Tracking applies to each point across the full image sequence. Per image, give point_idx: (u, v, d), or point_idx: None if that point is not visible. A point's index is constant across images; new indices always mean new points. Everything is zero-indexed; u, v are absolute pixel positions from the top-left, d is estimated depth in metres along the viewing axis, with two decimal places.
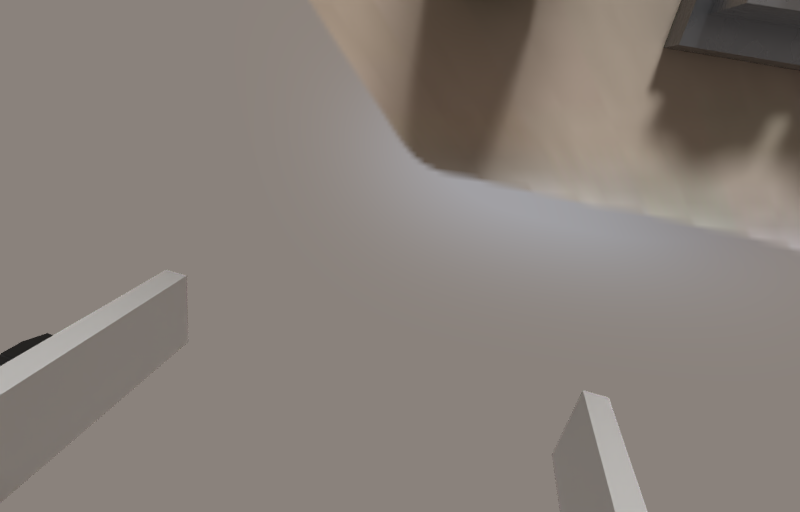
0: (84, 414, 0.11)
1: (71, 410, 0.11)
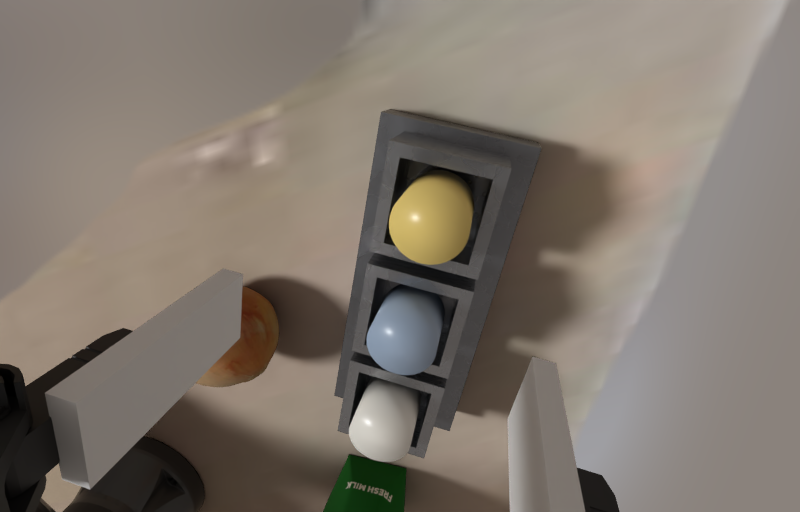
0: (160, 403, 0.12)
1: (151, 400, 0.12)
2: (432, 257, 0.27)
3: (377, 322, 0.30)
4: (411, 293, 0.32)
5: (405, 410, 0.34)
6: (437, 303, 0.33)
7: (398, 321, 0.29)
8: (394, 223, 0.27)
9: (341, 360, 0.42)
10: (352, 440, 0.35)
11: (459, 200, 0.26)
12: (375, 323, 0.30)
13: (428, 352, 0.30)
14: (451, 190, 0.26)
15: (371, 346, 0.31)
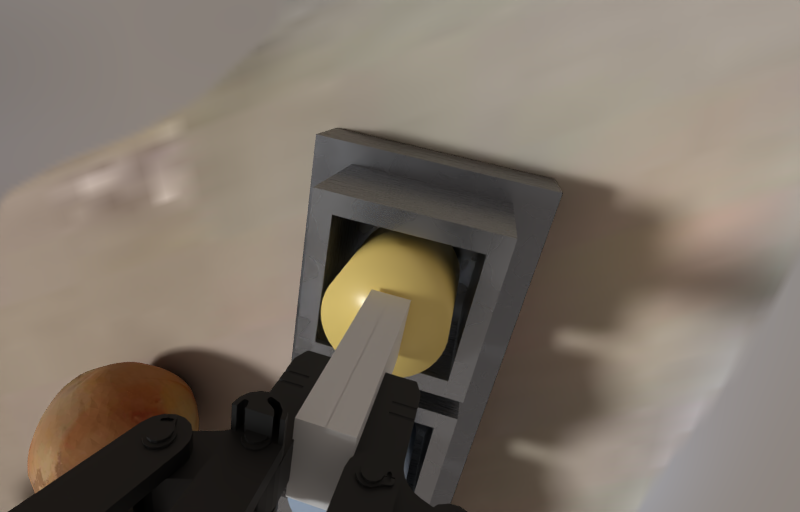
0: None
1: None
2: None
3: None
4: None
5: None
6: None
7: None
8: (329, 315, 0.17)
9: None
10: None
11: (431, 285, 0.15)
12: None
13: None
14: (419, 266, 0.16)
15: (295, 505, 0.19)
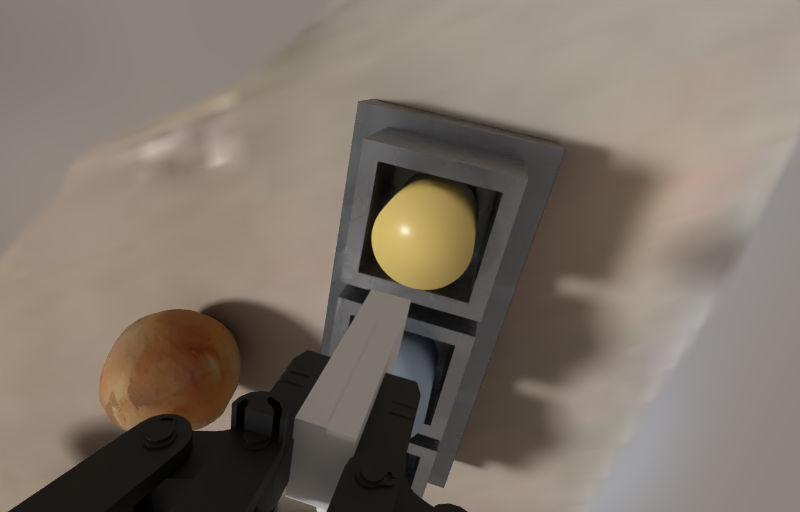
0: None
1: None
2: (425, 281, 0.22)
3: None
4: None
5: None
6: (428, 347, 0.26)
7: None
8: (378, 238, 0.21)
9: None
10: None
11: (460, 210, 0.20)
12: None
13: None
14: (450, 197, 0.20)
15: None
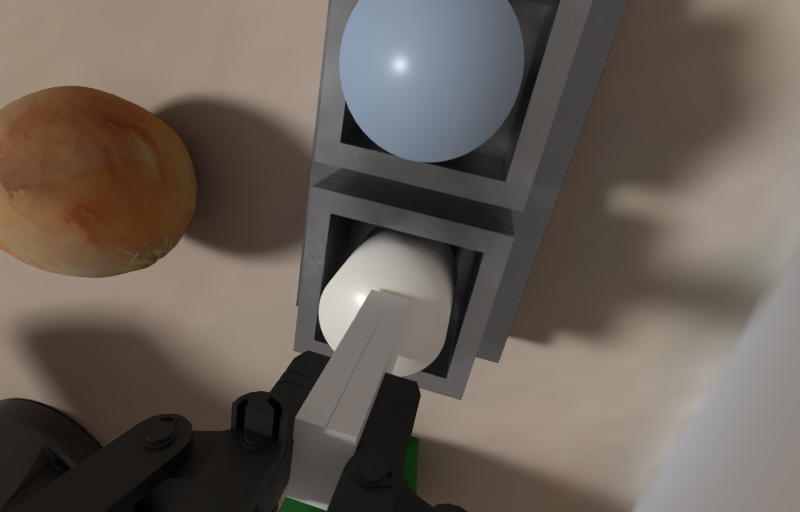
0: None
1: None
2: None
3: (366, 0, 0.11)
4: None
5: (434, 269, 0.17)
6: None
7: None
8: None
9: (306, 235, 0.23)
10: (326, 333, 0.17)
11: None
12: (361, 4, 0.11)
13: (499, 80, 0.11)
14: None
15: (352, 83, 0.12)
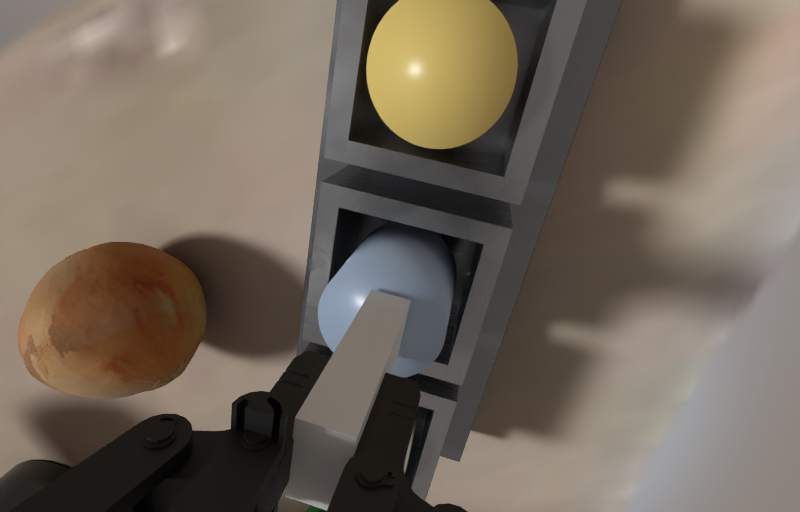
0: None
1: None
2: (445, 134, 0.15)
3: (336, 281, 0.16)
4: (400, 235, 0.18)
5: None
6: (445, 255, 0.19)
7: (374, 278, 0.16)
8: (376, 69, 0.15)
9: None
10: None
11: (498, 11, 0.13)
12: (332, 283, 0.16)
13: (429, 336, 0.16)
14: None
15: (327, 327, 0.17)
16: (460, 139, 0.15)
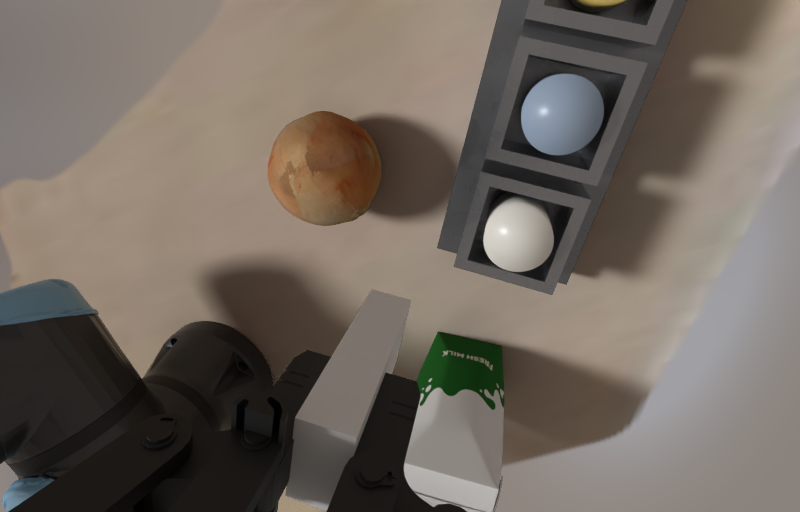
0: None
1: None
2: None
3: (538, 88, 0.28)
4: (564, 73, 0.30)
5: (545, 214, 0.32)
6: None
7: (563, 83, 0.27)
8: None
9: (450, 202, 0.38)
10: (486, 247, 0.32)
11: None
12: (535, 89, 0.28)
13: (592, 121, 0.28)
14: None
15: (526, 120, 0.28)
16: None
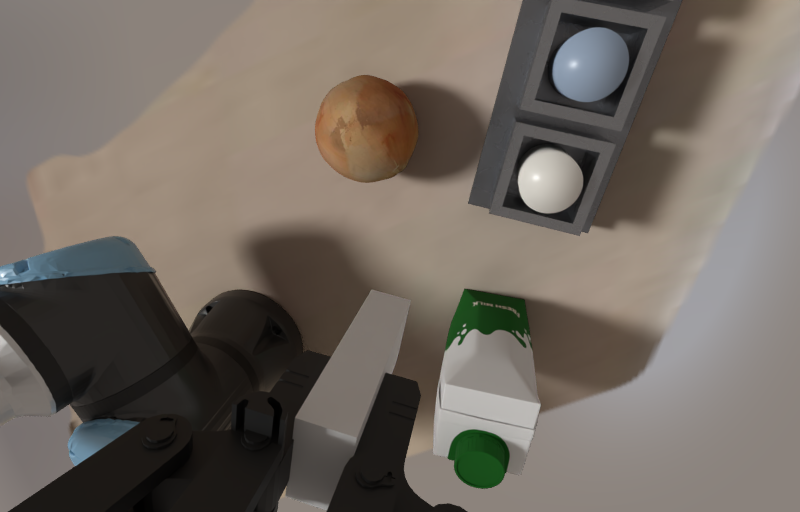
0: None
1: None
2: None
3: (571, 41, 0.31)
4: None
5: None
6: None
7: (593, 36, 0.31)
8: None
9: (481, 159, 0.42)
10: (521, 191, 0.36)
11: None
12: (568, 42, 0.31)
13: (618, 70, 0.31)
14: None
15: (560, 71, 0.32)
16: None
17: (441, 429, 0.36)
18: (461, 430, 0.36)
